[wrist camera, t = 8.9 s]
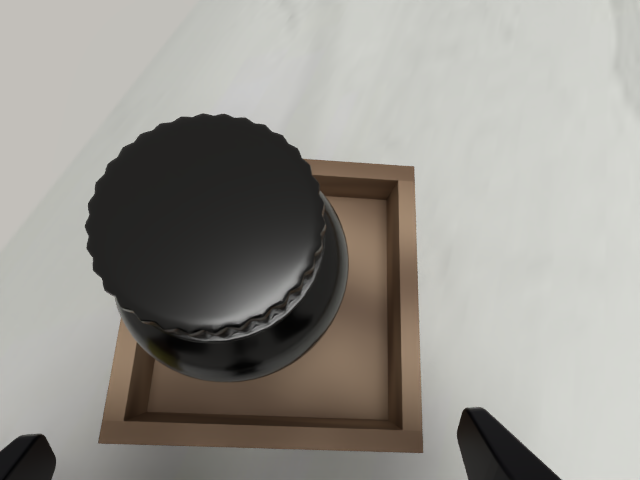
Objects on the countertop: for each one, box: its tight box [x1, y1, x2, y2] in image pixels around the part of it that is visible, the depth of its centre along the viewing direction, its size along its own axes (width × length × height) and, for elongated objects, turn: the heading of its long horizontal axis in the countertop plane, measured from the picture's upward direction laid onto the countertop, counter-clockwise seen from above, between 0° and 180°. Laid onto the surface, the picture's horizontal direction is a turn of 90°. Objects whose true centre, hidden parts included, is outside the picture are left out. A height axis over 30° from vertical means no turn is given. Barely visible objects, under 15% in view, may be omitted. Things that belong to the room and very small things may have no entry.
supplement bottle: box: [85, 114, 349, 382], centre depth 13 cm, size 7×7×12 cm
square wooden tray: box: [98, 159, 423, 453], centre depth 19 cm, size 13×13×6 cm
